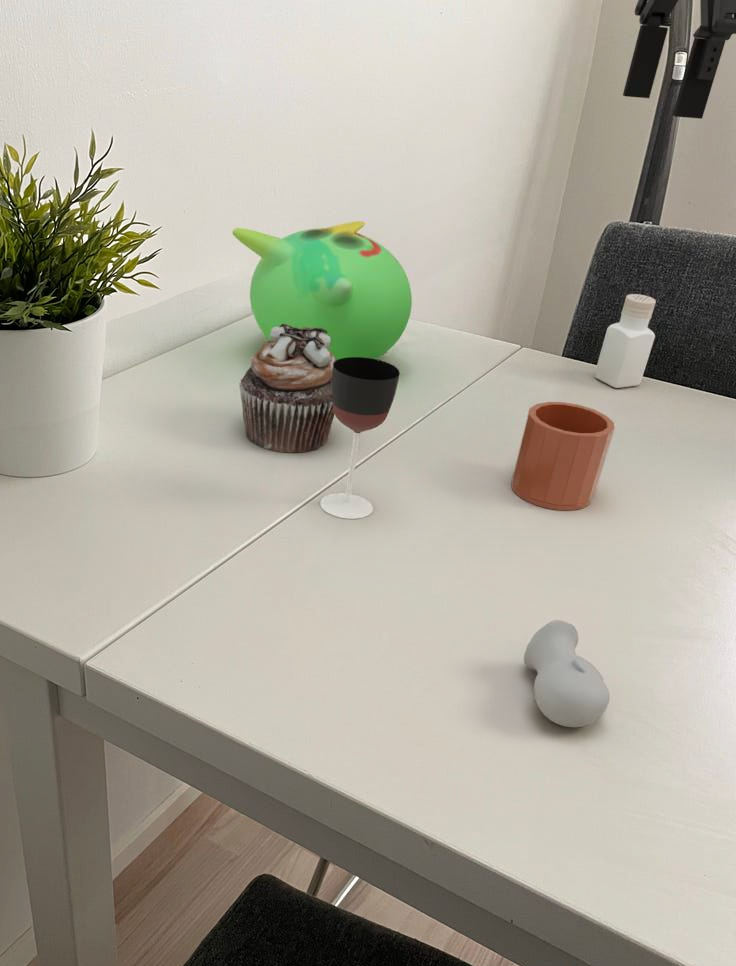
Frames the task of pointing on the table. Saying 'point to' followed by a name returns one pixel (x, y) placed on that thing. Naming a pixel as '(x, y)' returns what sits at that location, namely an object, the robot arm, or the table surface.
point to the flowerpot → (561, 455)
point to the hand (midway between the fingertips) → (660, 106)
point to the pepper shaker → (627, 344)
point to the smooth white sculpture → (565, 677)
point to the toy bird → (330, 287)
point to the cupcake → (290, 391)
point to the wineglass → (359, 417)
